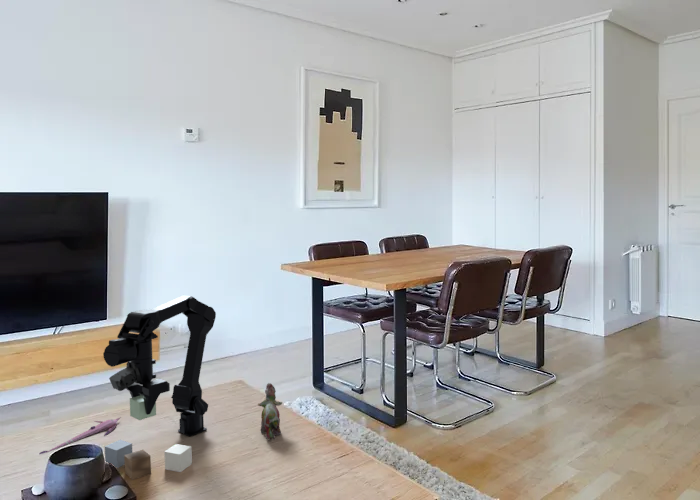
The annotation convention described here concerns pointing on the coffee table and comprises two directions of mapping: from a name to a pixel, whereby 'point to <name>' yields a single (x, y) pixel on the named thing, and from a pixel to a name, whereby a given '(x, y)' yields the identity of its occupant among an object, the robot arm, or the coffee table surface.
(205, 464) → the coffee table surface
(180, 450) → the cream block
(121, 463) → the slate block
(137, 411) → the sage block
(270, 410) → the figurine
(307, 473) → the coffee table surface
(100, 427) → the toy
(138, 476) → the walnut block
